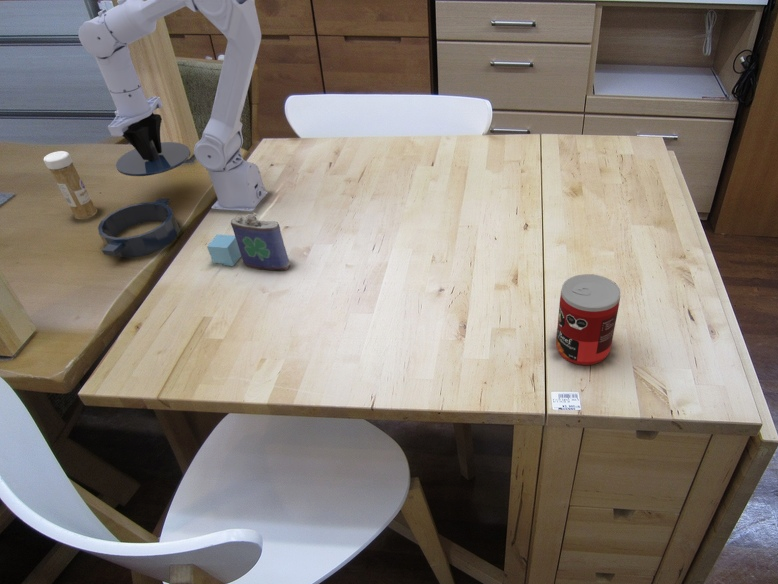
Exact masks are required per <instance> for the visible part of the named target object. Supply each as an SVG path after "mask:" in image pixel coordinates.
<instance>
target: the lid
mask: <svg viewBox="0 0 778 584" xmlns="http://www.w3.org/2000/svg"><path fill="white" fill-rule="evenodd" d="M149 142H150V146H151V149H152V152H153V156H154V159H153V160H143V158H142V157H141V156H140V154H139V153H138V152H137V150H136V149H135V148H134V149H132V150H129V151H128V152H126V153H124V154H123V155H121V156H120V157H119V158H118V159H117V161H116V162H115V168H116V170H117V171H118V173H120V174H121V175H125V176H127V177H128V176H129V177H148V176H154V175H159V174H163V173H166V172H170V171H171V170H173V169H176V168H178V167H180V166H181V165H183V164H184V163H186V162H187V161H188V160H189V159H190V157H191V149H190V148H189V147H188V146H187V145H186V144H184V143H180V142H173V141H161V148H162V152H161V153H158V151H157V149H156V146H155V144H154V141H153V139H152V138H149Z"/></svg>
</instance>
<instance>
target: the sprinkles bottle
mask: <svg viewBox="0 0 778 584" xmlns="http://www.w3.org/2000/svg"><path fill="white" fill-rule="evenodd" d="M43 162H44V164H45V166H46V168H47V169H48V170H49V171H50V173H51V175H52V176H53V179H54V180H55V183H56V185H57V187H58V188H59V190H60V192H61V194H62V196H63V198H64V200H65V202H66V203H67V205H68V207H69V208H70V210H71V211H72V213H73V216H74V219H77V220H85V219H89V218H92V217H93V216H95V215H96V214H97V213H98V209H97V208H96V206H95V205H94V202H93V200H92V198H91V195H90V193H89V191H88V190H87V188H86V185H85V184H84V182H83V180H82V178H81V177H80V175H79V173H78V171H77V169H76V167H75V165H74V162H73V159H72V157H71V154H70V153H69V152H68V151H64V150H58V151H53V152H50V153H48V154H46V155H45V156H44V157H43Z"/></svg>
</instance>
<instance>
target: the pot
mask: <svg viewBox="0 0 778 584" xmlns="http://www.w3.org/2000/svg"><path fill="white" fill-rule="evenodd" d="M170 204H171V201H170V199H169V198H159V197H158V198H157V199H155V201H149V202H148V201H143V202H139V203H134V204H130V205H126V206H124V207H121V208H118V209H117V210H115V211H112V212H111V213H109V214H108V215H107V216H105V217H104V218H103V219H102V220H101V221H100V223H98V226H97V230H98V235H99V236H100V239H101V240H102V243H103V244H104V246H105V247H104V248H102V249H101V252H102V253H103V255H104V256H115V257H118V258H125V259H131V258H138V257H139V258H140V257H144V256H149V255H151V254H154V253H155V252H159V251H161V250H163V249H164V248H166V247H168V246H169V245H171V244H172V243H173V242H174V241H175V240H176V239H177V238H178V237H179V234H180V226H179V225H178V222H177V220H176V217H175V215H174V213H173V209H172V208H171V206H169V205H170ZM149 222H162V223H161V224H160V225H158V226H156V227H155V228H153V229H151V230H149V231H146V232H143V233H141V234H137V235H132V236H123V237H122V236H121V237H118V235H119V234H120V233H121V232H123V231H125V230H126V229H129V228H131V227H135V226H136V225H139V224H144V223H149Z"/></svg>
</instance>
